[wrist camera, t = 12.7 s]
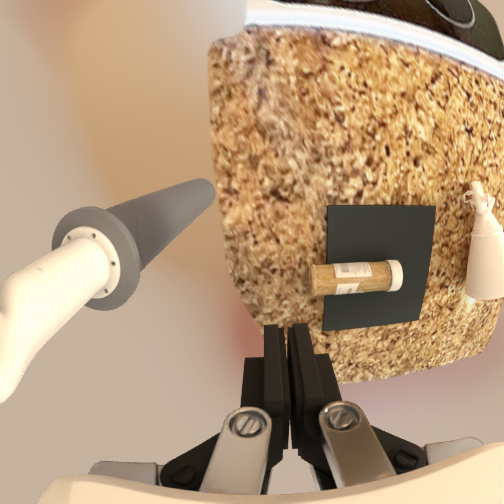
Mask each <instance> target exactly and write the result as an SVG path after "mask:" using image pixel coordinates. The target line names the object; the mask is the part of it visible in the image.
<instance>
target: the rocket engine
mask: <svg viewBox="0 0 504 504" xmlns="http://www.w3.org/2000/svg"><path fill="white" fill-rule="evenodd" d="M470 184H472V188H473V189H472V191H471V190H469V191H467V192H466V193H464V195H463V198H464V203H469V202H470V203H471V206H472V209H473V205H474V206H475V207H476V210H473V211H477V212H476V215H475V220H474V226H473V231H472V232H471V236H472V238H471V244H470V251H469V258H468V265H467V274H466V284H465V292H466V294H467V295H468V296H470V297H472V298H474V299H479V300H492V299H498V298H502V297H504V233H503V231H502V226H501V225H499V224H498V222H497V221H496V219H495V218H494V216H493V215H492V213H491V209H492V207H493V205H494V202H495V199H494V198H493V197H490V196H489V193H486V194H484V193H483V191H484V190H483V191H482V189H481V188H482V186H480V181H478V182H477V181H473V182H471V183H470ZM481 184H482V183H481ZM470 186H471V185H470ZM470 188H471V187H470ZM472 194H473V195H472ZM465 195H468V196H469V195H472V196H474V197H472V199H470V200H467V201H465ZM487 202H488V203H489V206H488V208H487Z"/></svg>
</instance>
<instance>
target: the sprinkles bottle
mask: <svg viewBox="0 0 504 504" xmlns="http://www.w3.org/2000/svg"><path fill="white" fill-rule="evenodd" d="M402 280H403V272H402V267H401V265H400V263H399V262H398V261H397V260H385V261H382V262H355V263H337V264H327V265H314V264H311V265H310V266H309V269H308V288H309V293H310V295H311V296H312V297H314V296H317V295H331V294H334V295H338V294H350V293H363V292H371V291H397V290H399V289H400V287H401V285H402Z"/></svg>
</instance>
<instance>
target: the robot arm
mask: <svg viewBox="0 0 504 504" xmlns="http://www.w3.org/2000/svg"><path fill="white" fill-rule="evenodd" d="M119 279H120V262H119V258H118V255H117V252H116V250H115V248H114V246H113V245H112V243H111V242H110V240H109V239H108V238H107V237H106V236H105V235H104V234H103V233H101V232H100V231H99V230H97V229H95V228H92V227H88V226H81V227H77V228H75V229H73V230H71V231H70V232H68V233H67V235H66V236H65V237H64V239H63V241H62V244H61V246H60V247H58V248H57V249H55V250H53V251H51V252H49V253H48V254H46V255H44V256H42V257H40V258H38V259H37V260H35V261H33V262H31V263H30V264H28V265H26V266H25V267H23V268H21V269H20V270H18V271H16V272H14V273H13V274H11V275H10V276H9V277H8V278H7V279H6V280H5V281H4V282H3V284H2V285H1V287H0V403H2V402H4V401H5V400H7V399H8V398H9V396H10V395H11V394H12V393H13V392H14V390H15V389H16V387H17V386H18V384H19V382H20V380H21V378H22V376H23V374H24V373H25V371H26V369H27V367H28V365H29V364H30V362H31V361H32V359H33V358H34V356H35V355H36V354H37V353H38V351H39V350H40V349H41V348H42V347H43V345H44V344H45V343H46V342H47V341H48V340H49V339H50V338H51V337H52V336H53V335H54V334H55V333H56V332H57V331H58V330H59V329H60V328H61V327H62V326H63V325H64V324H65V323H66V322H67V321H68V320H69V319H70V318H71V317H72V316H73V315H74V314H75V313H76V312H77V311H78V310H80V309H81V308H82V307H83V306H84V305H85V304H86V303H87V302H88V301H89V300H90V299H91V298H95V299H97V298H103V297H106V296H107V295H109V294H110V293H111V292H112V291H113V290H114V289H115V288H116V286H117V284H118V282H119ZM289 421H290V425H291V440H292V449H298V456H301V458H302V459H303V460H305V461H307V462H308V463H309V464H310V470H311V473H312V476H313V479H314V483H315V486H316V489H317V492H307V493H296V494H280V495H268V491H269V485H270V480H271V475H272V467H274V466H275V465H276V464H277V463H279V462H280V461H281V460H282V458H283V449H288V437H289ZM36 504H504V442H496V443H490V444H486V445H483V443H482V442H481V441H480V440H479V439H477V438H474V437H468V438H463V439H458V440H452V441H445V442H438V443H431V444H426V445H425V446H424V447H419V446H417V445H415V444H413V443H411V442H408V441H406V440H404V439H401V438H399V437H397V436H394V435H392V434H389V433H387V432H385V431H382V430H381V429H378V428H376V427H374V426H372V425H370V423H369V421H368V420H367V418H366V416H365V414H364V412H363V411H362V409H361V408H360V407H359V406H357V405H356V404H354V403H352V402H348V401H342V398H341V395H340V391H339V387H338V384H337V380H336V377H335V373H334V370H333V367H332V363H331V360H330V357H329V354H328V353H326V354H314V350H313V345H312V341H311V337H310V333H309V329H308V325H307V323H294V324H293V327H288V337H287V356H286V346H285V337H284V328H278V324H274V325H264V357H253V358H245V362H244V373H243V384H242V395H241V406H240V408H238V409H236V410H234V411H232V412H231V413H230V414H229V415H227V417H226V419H225V421H224V423H223V426H222V429H221V432H220V433H218V434H217V435H215V436H213V437H211V438H210V439H208V440H206V441H205V442H203V443H201V444H200V445H198V446H196V447H195V448H193V449H191V450H189V451H188V452H186V453H184V454H182V455H180V456H178V457H177V458H175V459H173V460H171V461H169V462H168V463H167V464H165V465H157V464H156V463H137V462H133V463H132V462H114V461H101V462H98V463H96V464H94V465H93V466H92V467H91V468H90V471H89V473H88V474H79V475H78V474H77V475H68V476H63V477H60V478H57V479H55V480H54V481H52V482H51V483H50V484H49V485H48V486H47V488H46V489H45V490H44V492H43V493H42V494H41V496H40V497H39V499H38V501H37V503H36Z"/></svg>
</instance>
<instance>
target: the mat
mask: <svg viewBox="0 0 504 504" xmlns="http://www.w3.org/2000/svg"><path fill="white" fill-rule="evenodd" d="M435 212H436V206H415V205H328V206H327V263H326V265H327V264H337V263H355V262H382V261H385V260H397V261H398V262H399V263H400V265H401V267H402V272H403V280H402V285H401V287H400V289H399V290H397V291H371V292H363V293H350V294H338V295H334V294H331V295H325V303H324V318H323V331H332V330H343V329H353V328H362V327H371V326H379V325H387V324H395V323H402V322H409V321H415V320H419V316H420V312H421V308H422V303H423V298H424V293H425V288H426V283H427V277H428V271H429V265H430V258H431V251H432V243H433V234H434V224H435Z"/></svg>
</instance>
